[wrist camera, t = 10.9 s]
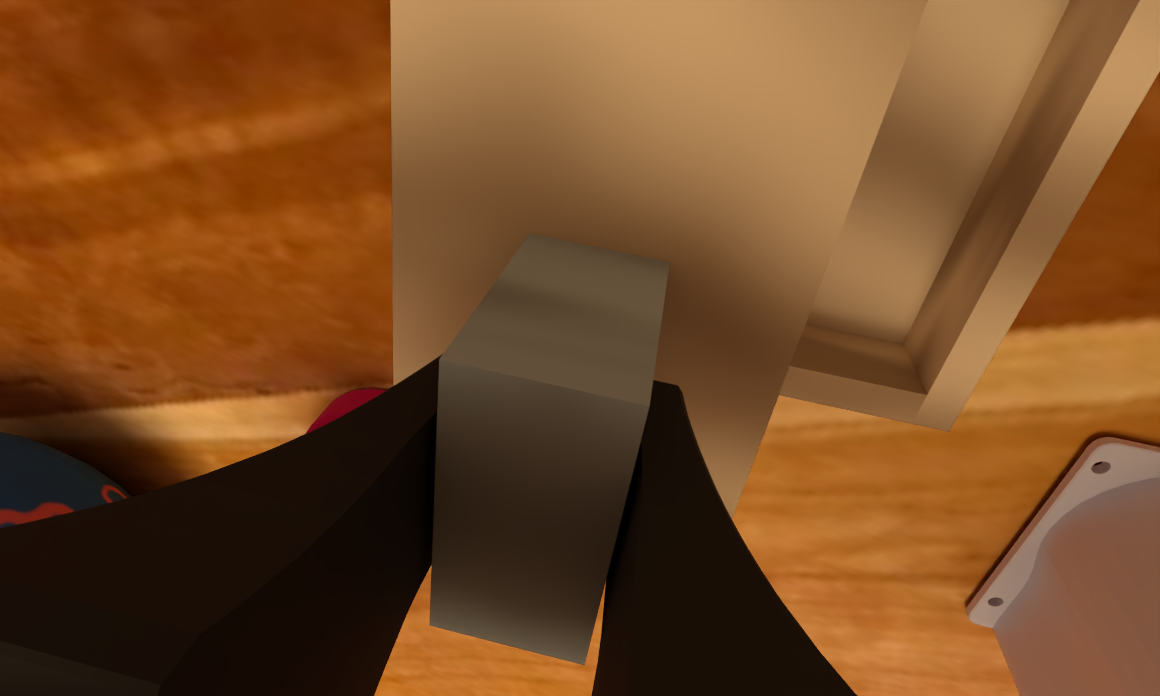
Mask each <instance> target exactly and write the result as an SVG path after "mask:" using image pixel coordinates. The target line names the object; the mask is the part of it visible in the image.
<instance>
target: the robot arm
mask: <svg viewBox="0 0 1160 696" xmlns="http://www.w3.org/2000/svg"><path fill="white" fill-rule="evenodd" d="M442 355H443V354H442ZM442 355H440V356H439V357H437V358H436V359H434V360H433V361H431V362H430V363H428V364H427V365H425V366H424V367H422V368H421V369H419V370H418V371H416V372H415V373H413V374H412V375H410V376H409V377H407V378H405V379H404V380H402V381H401V382H399V383H397V384H396V385H394V386H393V387H391V388H389V389H388V390H386V391H385V392H383V393H381V394H380V395H378V396H377V397H375V398H373V399H371V400H369V401H368V402H366V403H364V404H362V405H361V406H359V407H357V408H355V409H353V410H352V411H350V412H348V413H346V414H345V415H343V416H341V417H339V418H337V419H335V420H333V421H331V422H329V423H328V424H326V425H324V426H321V427H319V428H317V429H315V430H313V431H311V432H309V433H307V434H305V435H302V436H300V437H298V438H296V439H294V440H291V441H289V442H287V443H285V444H282V445H280V446H278V447H275V448H273V449H271V450H268V451H266V452H263V453H261V454H258V455H255V456H253V457H250V458H247V459H244V460H242V461H239V462H236V463H234V464H231V465H228V466H226V467H223V468H220V469H218V470H215V471H212V472H210V473H207V474H204V475H201V476H198V477H195V478H192V479H189V480H186V481H183V482H180V483H176V484H173V485H170V486H167V487H164V488H161V489H157V490H154V491H150V492H147V493H143V494H140V495H136V496H133V497H129V498H126V499H122V500H118V501H115V502H111V503H107V504H103V505H99V506H96V507H91V508H87V509H83V510H78V511H74V512H70V513H66V514H61V515H57V516H53V517H48V518H44V519H40V520H35V521H31V522H27V523H23V524H18V525H13V526H9V527H4V528H0V696H374V694H375V692H376V689H377V686H378V684H379V681H380V679H381V676H382V674H383V671H384V669H385V666H386V664H387V661H388V659H389V656H390V654H391V651H392V649H393V647H394V644H395V642H396V639H397V637H398V634H399V632H400V629H401V627H402V625H403V622H404V620H405V617H406V615H407V612H408V610H409V608H410V606H411V604H412V602H413V600H414V598H415V596H416V593H417V591H418V589H419V587H420V585H421V583H422V582H423V580H424V578H425V576H426V574H427V572H428V570H429V568H430V566H431V565H432V544H433V517H434V490H435V463H436V435H437V408H438V381H439V359H440V358H441V356H442ZM1101 461H1102V463H1101V464H1099V465H1096V466H1093V465H1094V464H1095V463H1097V462H1101ZM966 613H967V615H968V618H969V620H970V621H971V622H972V623H975V624H977V625H981V626H985V627H989V628H993V630H994V633H995V635H996V637H997V640H998V642H999V645H1000V647H1001V650H1002V652H1003V655H1004V657H1005V660H1006V662H1007V664H1008V667H1009V669H1010V672H1011V674H1012V677H1013V679H1014V682H1015V684H1016V687H1017V689H1018V691H1019V694H1020V696H1160V447H1156V446H1152V445H1147V444H1142V443H1138V442H1133V441H1128V440H1123V439H1119V438H1114V437H1104V438H1099V439H1097V440H1095V441H1093V442H1092V443H1091V444H1089V445H1088V447H1087V448H1086V449H1085V451H1084V452H1083V453H1082V455H1081V456H1080V457H1079V459H1078V460H1077V461H1076V463H1075V464H1074V465H1073V467H1072V468H1071V469H1070V471H1069V472H1068V473H1067V475H1066V476H1065V477H1064V479H1063V480H1062V481H1061V483H1060V484H1059V485H1058V487H1057V488H1056V489H1055V491H1054V492H1053V493H1052V495H1051V496H1050V497H1049V499H1048V500H1047V501H1046V503H1045V504H1044V505H1043V507H1042V508H1041V509H1040V511H1039V512H1038V513H1037V515H1036V516H1035V517H1034V518H1033V520H1032V521H1031V522H1030V524H1029V525H1028V526H1027V528H1026V529H1025V530H1024V532H1023V533H1022V534H1021V536H1020V537H1019V538H1018V540H1017V541H1016V542H1015V544H1014V545H1013V546H1012V548H1011V549H1010V550H1009V552H1008V553H1007V554H1006V556H1005V557H1004V558H1003V560H1002V561H1001V562H1000V564H999V565H998V566H997V568H996V569H995V570H994V572H993V573H992V574H991V576H990V577H989V578H988V580H987V581H986V582H985V584H984V585H983V586H982V588H981V589H980V590H979V592H978V593H977V594H976V596H975V597H974V598H973V600H972V601H971V602H970V604H969V605H968V606H967V608H966ZM592 696H857V695H856V694H855V693H854V692H853V690H852V689H851V688H850V687H849V686H848V684H847V683H846V682H845V681H844V680H843V679H842V677H841V676H840V675H839V674H838V673H837V671H836V670H835V669H834V668H833V667H832V666H831V664H830V663H829V662H828V661H827V660H826V658H825V657H824V656H823V655H822V654H821V653H820V651H819V650H818V649H817V647H816V646H815V645H814V643H813V642H812V641H811V639H810V638H809V637H808V635H807V634H806V633H805V631H804V630H803V629H802V627H801V626H800V625H799V623H798V622H797V621H796V619H795V618H794V617H793V615H792V614H791V613H790V611H789V610H788V609H787V607H786V606H785V605H784V603H783V602H782V601H781V599H780V598H779V596H778V595H777V593H776V592H775V590H774V589H773V587H772V586H771V584H770V583H769V581H768V580H767V578H766V577H765V575H764V574H763V572H762V571H761V569H760V567H759V566H758V564H757V563H756V561H755V559H754V558H753V556H752V554H751V553H750V551H749V549H748V548H747V546H746V544H745V543H744V541H743V539H742V537H741V536H740V534H739V532H738V530H737V528H736V526H735V525H734V523H733V521H732V519H731V517H730V515H729V513H728V511H727V509H726V507H725V505H724V503H723V501H722V499H721V497H720V495H719V493H718V491H717V488H716V486H715V484H714V482H713V480H712V477H711V475H710V473H709V470H708V468H707V465H706V463H705V461H704V458H703V456H702V453H701V451H700V448H699V446H698V443H697V440H696V437H695V434H694V432H693V429H692V426H691V423H690V419H689V416H688V413H687V409H686V405H685V401H684V397H683V392H682V391H681V389H680V388H679V386H678V385H674V384H670V383H665V382H661V381H656V380H653V385H652V392H651V400H650V406H649V410H648V414H647V418H646V422H645V426H644V430H643V434H642V438H641V442H640V446H639V450H638V454H637V458H636V462H635V466H634V470H633V474H632V478H631V482H630V486H629V490H628V494H627V498H626V502H625V506H624V510H623V514H622V518H621V522H620V526H619V530H618V534H617V538H616V542H615V546H614V550H613V554H612V558H611V562H610V566H609V570H608V574H607V578H606V587H605V599H604V610H603V622H602V633H601V641H600V649H599V657H598V663H597V669H596V675H595V680H594V686H593V691H592Z"/></svg>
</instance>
